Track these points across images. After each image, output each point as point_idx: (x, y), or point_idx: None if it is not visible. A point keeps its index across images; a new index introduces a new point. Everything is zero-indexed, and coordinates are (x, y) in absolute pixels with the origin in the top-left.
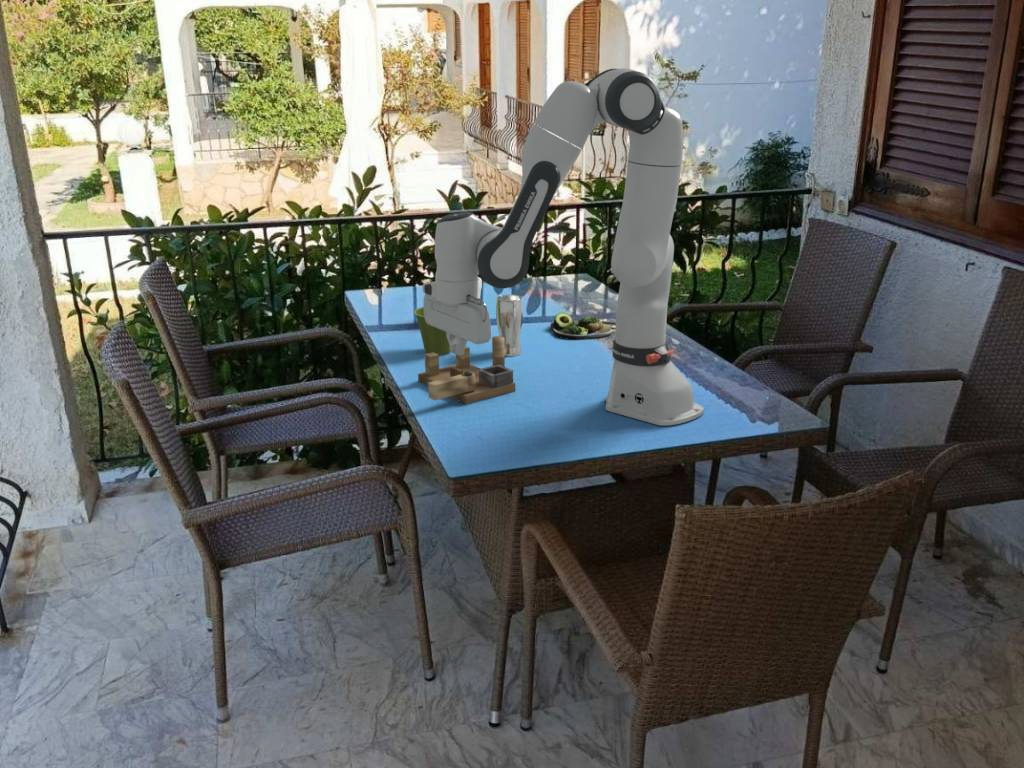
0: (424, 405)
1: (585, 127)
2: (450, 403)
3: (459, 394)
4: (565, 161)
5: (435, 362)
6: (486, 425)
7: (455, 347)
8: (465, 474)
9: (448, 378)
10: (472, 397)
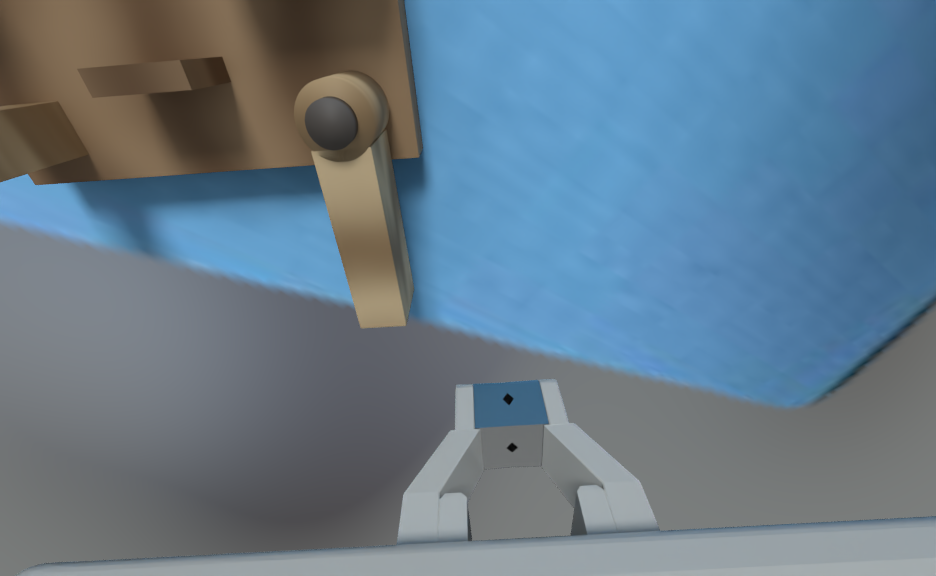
0: None
1: None
2: None
3: None
4: None
5: (3, 139)
6: (648, 199)
7: (534, 463)
8: (822, 392)
9: (346, 240)
10: (416, 118)
